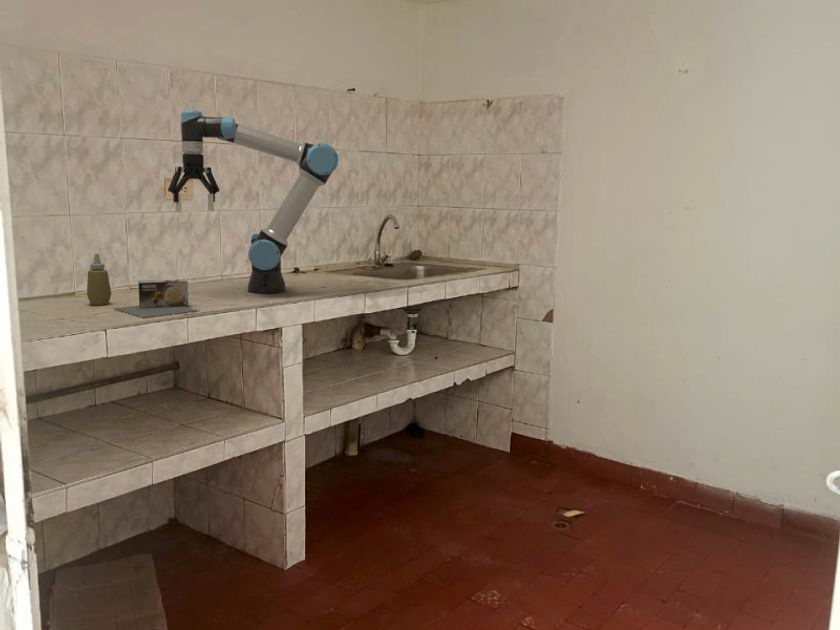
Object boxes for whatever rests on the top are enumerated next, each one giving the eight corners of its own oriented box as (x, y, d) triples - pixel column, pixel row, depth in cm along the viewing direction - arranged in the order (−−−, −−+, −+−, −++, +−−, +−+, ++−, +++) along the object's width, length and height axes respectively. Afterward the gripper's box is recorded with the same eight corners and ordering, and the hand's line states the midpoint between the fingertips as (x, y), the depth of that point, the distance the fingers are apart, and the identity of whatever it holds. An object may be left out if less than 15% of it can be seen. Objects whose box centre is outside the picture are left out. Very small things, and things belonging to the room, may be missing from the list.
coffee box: (185, 278, 266) (137, 279, 260) (188, 280, 260) (139, 281, 254) (186, 303, 268) (138, 305, 261) (188, 306, 262) (140, 308, 255)
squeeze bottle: (90, 307, 259) (87, 255, 256) (85, 303, 265) (81, 253, 262) (114, 305, 264) (111, 254, 260) (108, 301, 270) (105, 252, 267)
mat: (168, 303, 269) (168, 302, 269) (199, 311, 254) (199, 310, 254) (113, 309, 255) (113, 308, 255) (143, 318, 240) (143, 317, 240)
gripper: (167, 152, 265) (170, 212, 269) (227, 154, 283) (229, 210, 287) (156, 152, 270) (159, 211, 274) (216, 154, 288) (218, 210, 292)
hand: (195, 211), depth 280 cm, fingers open, 13 cm apart
